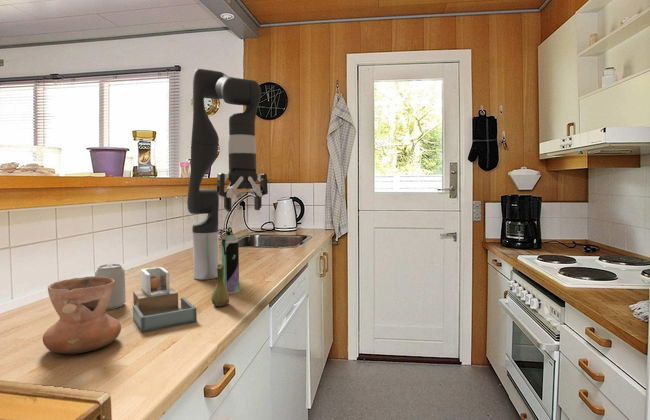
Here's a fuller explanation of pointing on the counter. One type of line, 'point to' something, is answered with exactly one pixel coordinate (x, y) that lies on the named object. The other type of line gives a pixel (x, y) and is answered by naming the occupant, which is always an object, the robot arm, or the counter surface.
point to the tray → (165, 317)
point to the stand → (155, 301)
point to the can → (119, 286)
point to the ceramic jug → (81, 315)
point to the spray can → (230, 262)
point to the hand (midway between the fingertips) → (243, 210)
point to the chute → (160, 275)
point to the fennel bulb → (220, 289)
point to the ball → (154, 283)
